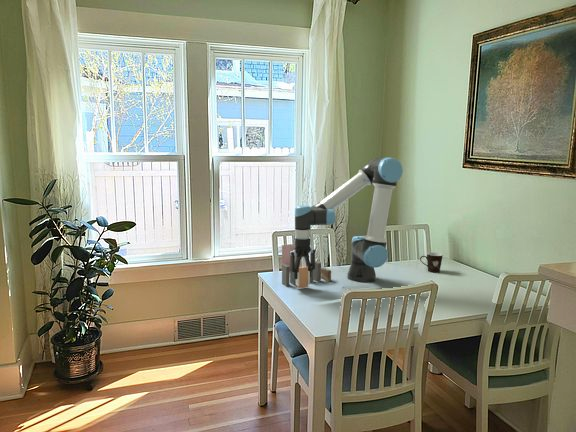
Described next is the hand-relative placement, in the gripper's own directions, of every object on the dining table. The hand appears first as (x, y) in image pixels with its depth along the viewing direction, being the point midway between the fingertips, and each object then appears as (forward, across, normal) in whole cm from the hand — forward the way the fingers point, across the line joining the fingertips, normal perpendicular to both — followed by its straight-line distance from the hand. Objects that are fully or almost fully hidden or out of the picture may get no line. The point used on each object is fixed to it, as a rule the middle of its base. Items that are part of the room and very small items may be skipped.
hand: (302, 284), depth 212 cm
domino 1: (+2, +5, -9) cm, 11 cm away
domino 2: (+2, 0, -9) cm, 9 cm away
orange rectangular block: (+1, 0, 0) cm, 1 cm away
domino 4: (+2, -13, -9) cm, 16 cm away
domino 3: (+2, -9, -9) cm, 13 cm away
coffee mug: (+4, -84, -1) cm, 84 cm away
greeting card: (+2, -10, -30) cm, 32 cm away
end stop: (+2, -18, -9) cm, 21 cm away
